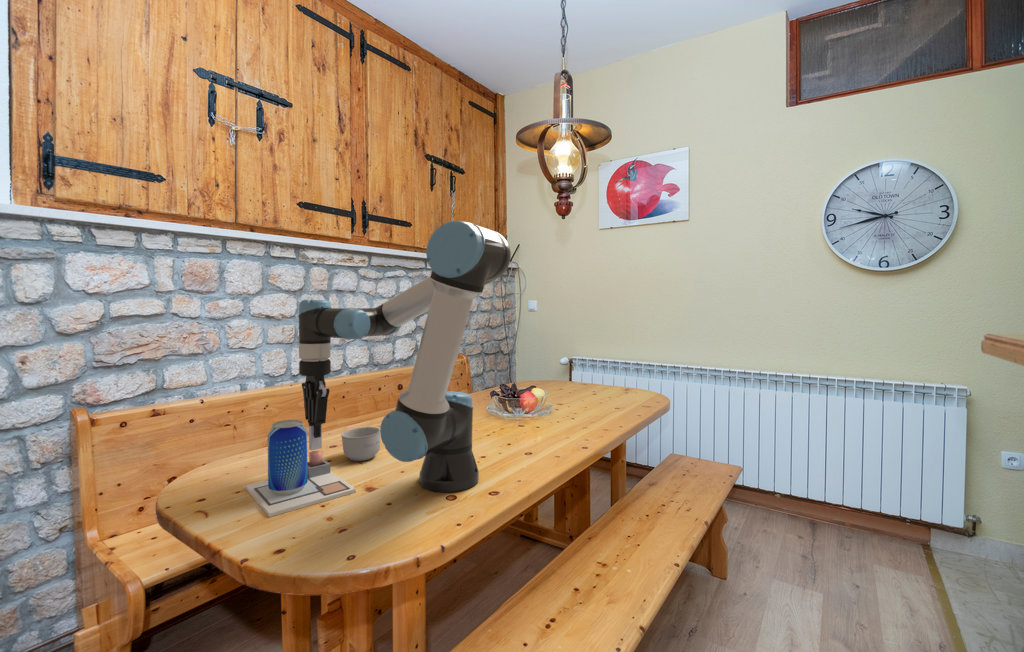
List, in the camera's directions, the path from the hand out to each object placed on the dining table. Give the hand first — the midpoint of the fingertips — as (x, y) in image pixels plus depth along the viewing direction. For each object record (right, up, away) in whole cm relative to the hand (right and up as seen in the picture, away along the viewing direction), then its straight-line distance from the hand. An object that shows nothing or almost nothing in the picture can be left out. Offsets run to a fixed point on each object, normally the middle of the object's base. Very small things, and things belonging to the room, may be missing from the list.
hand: (315, 448), depth 118 cm
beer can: (-2, -7, -11) cm, 13 cm away
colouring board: (0, -8, -9) cm, 12 cm away
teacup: (+8, -7, +16) cm, 19 cm away
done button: (0, -4, 0) cm, 4 cm away
